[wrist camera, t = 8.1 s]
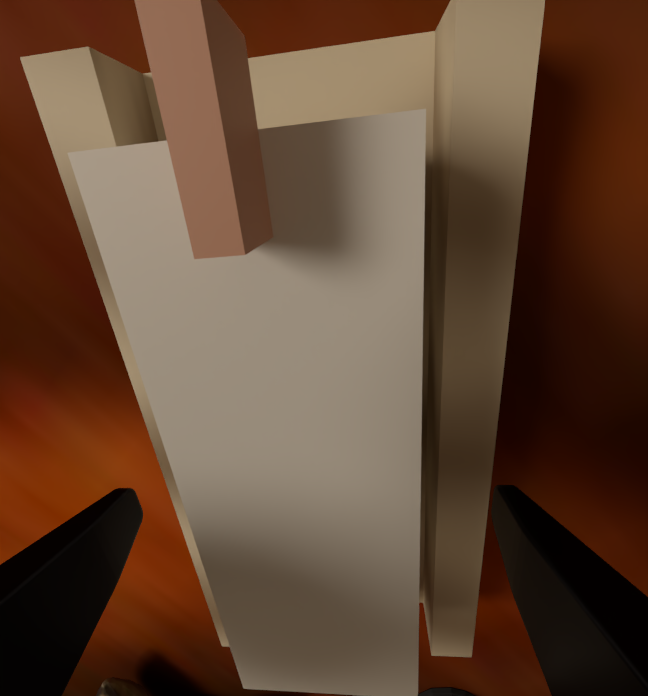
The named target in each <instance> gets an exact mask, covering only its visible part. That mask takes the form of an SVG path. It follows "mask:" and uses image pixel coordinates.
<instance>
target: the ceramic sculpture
mask: <svg viewBox="0 0 648 696" xmlns="http://www.w3.org/2000/svg"><path fill="white" fill-rule="evenodd" d="M96 696H148V694H147V692H146V691H145V689H144V688H143V687H142V686H140V685H139V684H137V683H135V682H133V681H131V680H126V679H119V678H114V677H112V678H107V679H106V680H105V681H104V682H103V683H102V685H101V687H100V688H99V690H98V693H97V695H96Z"/></svg>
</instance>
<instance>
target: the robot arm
mask: <svg viewBox="0 0 648 696" xmlns="http://www.w3.org/2000/svg"><path fill="white" fill-rule="evenodd" d="M491 513H492V521H493V525H494V528H495V532H496V536H497V539H498V543H499V547H500V550H501V554H502V558H503V561H504V565H505V569H506V572H507V576H508V580H509V583H510V587H511V590H512V593H513V596H514V598H515V601H516V604H517V607H518V609H519V612H520V614H521V617H522V619H523V622H524V625H525V627H526V630H527V632H528V635H529V638H530V640H531V643H532V645H533V648H534V651H535V653H536V656H537V658H538V661H539V663H540V666H541V669H542V671H543V674H544V676H545V679H546V682H547V684H548V687H549V689H550V692H551V695H552V696H648V597H647V596H646V595H645V594H643V593H642V592H641V591H640V590H639V589H637V588H636V587H635V586H634V585H633V584H632V583H630V582H629V581H628V580H627V579H626V578H624V577H623V576H622V575H621V574H620V573H618V572H617V571H616V570H615V569H614V568H612V567H611V566H610V565H609V564H608V563H606V562H605V561H604V560H603V559H602V558H601V557H599V556H598V555H597V554H596V553H595V552H593V551H592V550H591V549H590V548H589V547H587V546H586V545H585V544H584V543H583V542H581V541H580V540H579V539H578V538H577V537H576V536H574V535H573V534H572V533H571V532H570V531H568V530H567V529H566V528H565V527H564V526H562V525H561V524H560V523H559V522H558V521H556V520H555V519H554V518H553V517H552V516H550V515H549V514H548V513H547V512H546V511H545V510H543V509H542V508H541V507H540V506H539V505H537V504H536V503H535V502H534V501H533V500H531V499H530V498H529V497H528V496H527V495H525V494H524V493H523V492H522V491H521V490H519V489H518V488H517V487H516V486H514V485H497V486H495V488H494V493H493V502H492V511H491ZM142 518H143V510H142V508H141V505H140V503H139V500H138V497H137V495H136V492H135V491H134V490H133V489H131V488H118V489H115V490H113V491H112V492H110V493H109V494H107V495H106V496H104V497H103V498H101V499H100V500H98V501H97V502H95V503H94V504H92V505H90V506H89V507H87V508H86V509H84V510H83V511H81V512H80V513H78V514H77V515H75V516H74V517H72V518H71V519H69V520H68V521H66V522H65V523H63V524H62V525H60V526H59V527H57V528H56V529H54V530H53V531H51V532H50V533H48V534H46V535H45V536H43V537H42V538H40V539H39V540H37V541H36V542H34V543H33V544H31V545H30V546H28V547H27V548H25V549H24V550H22V551H21V552H19V553H18V554H16V555H15V556H13V557H12V558H10V559H9V560H7V561H6V562H4V563H2V564H1V565H0V696H62V694H63V692H64V690H65V688H66V686H67V684H68V682H69V680H70V678H71V676H72V674H73V672H74V670H75V668H76V666H77V664H78V662H79V660H80V658H81V656H82V654H83V652H84V650H85V648H86V646H87V644H88V642H89V640H90V638H91V636H92V633H93V631H94V629H95V627H96V625H97V623H98V621H99V619H100V617H101V615H102V613H103V611H104V609H105V607H106V605H107V603H108V601H109V599H110V597H111V595H112V593H113V591H114V589H115V587H116V585H117V583H118V580H119V578H120V576H121V573H122V571H123V568H124V566H125V563H126V561H127V558H128V555H129V553H130V550H131V548H132V545H133V543H134V540H135V537H136V535H137V532H138V530H139V527H140V525H141V522H142Z"/></svg>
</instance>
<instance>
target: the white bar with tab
mask: <svg viewBox="0 0 648 696" xmlns="http://www.w3.org/2000/svg"><path fill="white" fill-rule="evenodd" d="M135 4H136V9H137V13H138V17H139V22H140V26H141V30H142V35H143V39H144V43H145V48H146V52H147V56H148V61H149V65H150V69H151V74H152V78H153V82H154V87H155V91H156V95H157V100H158V104H159V108H160V113H161V117H162V121H163V126H164V130H165V134H166V139H167V140H166V141H158V142H150V143H142V144H134V145H126V146H117V147H109V148H101V149H93V150H85V151H77V152H69V153H68V156H69V159H70V162H71V165H72V169H73V172H74V175H75V178H76V181H77V184H78V187H79V190H80V193H81V196H82V199H83V202H84V205H85V208H86V211H87V214H88V217H89V220H90V223H91V226H92V229H93V232H94V235H95V238H96V241H97V245H98V248H99V251H100V254H101V257H102V260H103V263H104V266H105V269H106V272H107V275H108V278H109V281H110V284H111V287H112V290H113V293H114V296H115V299H116V302H117V305H118V308H119V311H120V314H121V317H122V321H123V324H124V327H125V330H126V333H127V336H128V339H129V342H130V345H131V348H132V351H133V354H134V357H135V360H136V363H137V366H138V369H139V372H140V375H141V378H142V381H143V384H144V387H145V390H146V393H147V397H148V400H149V403H150V406H151V409H152V412H153V415H154V418H155V421H156V424H157V427H158V430H159V433H160V436H161V439H162V442H163V445H164V448H165V451H166V454H167V457H168V460H169V463H170V466H171V469H172V473H173V476H174V479H175V482H176V485H177V488H178V491H179V494H180V497H181V500H182V503H183V506H184V509H185V512H186V515H187V518H188V521H189V524H190V527H191V530H192V533H193V536H194V539H195V542H196V545H197V549H198V552H199V555H200V558H201V561H202V564H203V567H204V570H205V573H206V576H207V579H208V582H209V585H210V588H211V591H212V594H213V597H214V600H215V603H216V606H217V609H218V612H219V615H220V618H221V621H222V625H223V628H224V631H225V634H226V637H227V640H228V643H229V646H230V649H231V652H232V655H233V658H234V661H235V664H236V667H237V670H238V673H239V676H240V679H241V682H242V685H243V688H244V689H258V690H275V691H292V692H310V693H327V694H344V695H361V696H418V648H419V577H420V506H421V434H422V363H423V292H424V221H425V149H426V109H419V110H411V111H402V112H394V113H386V114H378V115H370V116H362V117H354V118H345V119H337V120H329V121H321V122H313V123H305V124H297V125H288V126H280V127H272V128H264V129H258V127H257V120H256V113H255V106H254V99H253V92H252V85H251V78H250V71H249V64H248V57H247V50H246V43H245V36H244V35H243V33H242V32H241V31H240V30H239V28H238V27H237V26H236V25H235V23H234V22H233V21H232V19H231V18H230V17H229V16H228V14H227V13H226V12H225V10H224V9H223V8H222V7H221V5H220V4H219V3H218V1H217V0H135Z"/></svg>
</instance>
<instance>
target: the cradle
mask: <svg viewBox="0 0 648 696" xmlns="http://www.w3.org/2000/svg"><path fill="white" fill-rule="evenodd" d="M544 6H545V0H451V1H450V3H449V5H448V7H447V9H446V11H445V13H444V15H443V17H442V19H441V21H440V23H439V25H438V27H437V29H436V31H432V32H425V33H418V34H411V35H405V36H398V37H391V38H384V39H377V40H370V41H364V42H357V43H350V44H343V45H336V46H329V47H323V48H316V49H309V50H302V51H295V52H288V53H282V54H275V55H268V56H261V57H254V58H248V64H249V71H250V78H251V85H252V92H253V99H254V106H255V113H256V120H257V127H258V129H264V128H272V127H280V126H288V125H297V124H305V123H313V122H321V121H329V120H337V119H345V118H354V117H362V116H370V115H378V114H386V113H394V112H402V111H411V110H419V109H426V149H425V221H424V292H423V363H422V434H421V506H420V577H419V602H422V603H424V610H425V616H426V623H427V630H428V636H429V643H430V649H431V655H432V656H454V657H472V648H473V639H474V630H475V621H476V612H477V604H478V595H479V586H480V577H481V568H482V559H483V550H484V541H485V532H486V523H487V514H488V505H489V496H490V488H491V479H492V470H493V461H494V452H495V443H496V434H497V425H498V416H499V407H500V398H501V389H502V380H503V372H504V363H505V354H506V345H507V336H508V327H509V318H510V309H511V300H512V291H513V282H514V273H515V264H516V256H517V247H518V238H519V229H520V220H521V211H522V202H523V193H524V184H525V175H526V166H527V157H528V149H529V140H530V131H531V122H532V113H533V104H534V95H535V86H536V77H537V68H538V59H539V50H540V41H541V33H542V24H543V15H544ZM20 59H21V62H22V65H23V68H24V71H25V74H26V77H27V80H28V82H29V85H30V88H31V91H32V94H33V97H34V100H35V103H36V106H37V109H38V112H39V115H40V117H41V120H42V123H43V126H44V129H45V132H46V135H47V138H48V141H49V144H50V147H51V149H52V152H53V155H54V158H55V161H56V164H57V167H58V170H59V173H60V176H61V179H62V182H63V184H64V187H65V190H66V193H67V196H68V199H69V202H70V205H71V208H72V211H73V214H74V217H75V219H76V222H77V225H78V228H79V231H80V234H81V237H82V240H83V243H84V246H85V249H86V251H87V254H88V257H89V260H90V263H91V266H92V269H93V272H94V275H95V278H96V281H97V284H98V286H99V289H100V292H101V295H102V298H103V301H104V304H105V307H106V310H107V313H108V316H109V318H110V321H111V324H112V327H113V330H114V333H115V336H116V339H117V342H118V345H119V348H120V351H121V353H122V356H123V359H124V362H125V365H126V368H127V371H128V374H129V377H130V380H131V383H132V386H133V388H134V391H135V394H136V397H137V400H138V403H139V406H140V409H141V412H142V415H143V418H144V420H145V423H146V426H147V429H148V432H149V435H150V438H151V441H152V444H153V447H154V450H155V453H156V455H157V458H158V461H159V464H160V467H161V470H162V473H163V476H164V479H165V482H166V485H167V488H168V490H169V493H170V496H171V499H172V502H173V505H174V508H175V511H176V514H177V517H178V520H179V522H180V525H181V528H182V531H183V534H184V537H185V540H186V543H187V546H188V549H189V552H190V555H191V557H192V560H193V563H194V566H195V569H196V572H197V575H198V578H199V581H200V584H201V587H202V589H203V592H204V595H205V598H206V601H207V604H208V607H209V610H210V613H211V616H212V619H213V622H214V624H215V627H216V630H217V633H218V636H219V639H220V642H221V645H222V646H229V643H228V640H227V637H226V634H225V631H224V628H223V625H222V621H221V618H220V615H219V612H218V609H217V606H216V603H215V600H214V597H213V594H212V591H211V588H210V585H209V582H208V579H207V576H206V573H205V570H204V567H203V564H202V561H201V558H200V555H199V552H198V549H197V545H196V542H195V539H194V536H193V533H192V530H191V527H190V524H189V521H188V518H187V515H186V512H185V509H184V506H183V503H182V500H181V497H180V494H179V491H178V488H177V485H176V482H175V479H174V476H173V473H172V469H171V466H170V463H169V460H168V457H167V454H166V451H165V448H164V445H163V442H162V439H161V436H160V433H159V430H158V427H157V424H156V421H155V418H154V415H153V412H152V409H151V406H150V403H149V400H148V397H147V393H146V390H145V387H144V384H143V381H142V378H141V375H140V372H139V369H138V366H137V363H136V360H135V357H134V354H133V351H132V348H131V345H130V342H129V339H128V336H127V333H126V330H125V327H124V324H123V321H122V317H121V314H120V311H119V308H118V305H117V302H116V299H115V296H114V293H113V290H112V287H111V284H110V281H109V278H108V275H107V272H106V269H105V266H104V263H103V260H102V257H101V254H100V251H99V248H98V245H97V241H96V238H95V235H94V232H93V229H92V226H91V223H90V220H89V217H88V214H87V211H86V208H85V205H84V202H83V199H82V196H81V193H80V190H79V187H78V184H77V181H76V178H75V175H74V172H73V169H72V165H71V162H70V159H69V156H68V153H69V152H77V151H85V150H93V149H101V148H109V147H117V146H126V145H134V144H142V143H150V142H158V141H166V140H167V139H166V134H165V130H164V126H163V121H162V117H161V113H160V108H159V104H158V100H157V95H156V91H155V87H154V82H153V78H152V74H151V73H145V74H142V73H140V72H138V71H136V70H134V69H132V68H130V67H128V66H126V65H124V64H122V63H120V62H118V61H116V60H114V59H112V58H110V57H108V56H106V55H104V54H102V53H100V52H98V51H96V50H94V49H92V48H90V47H83V48H77V49H70V50H64V51H58V52H51V53H45V54H39V55H32V56H26V57H20ZM229 647H230V646H229Z"/></svg>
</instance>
